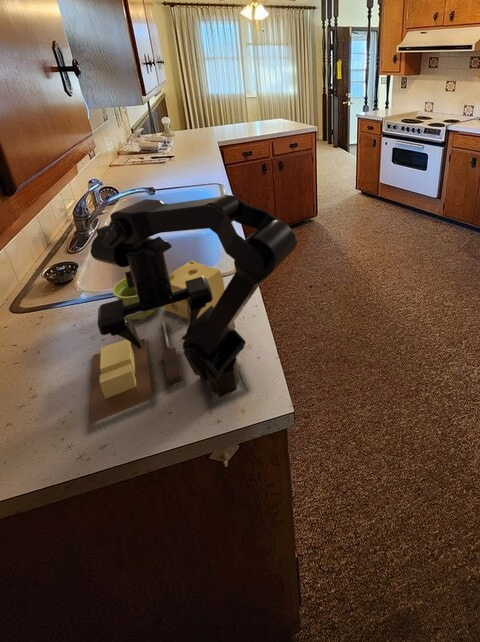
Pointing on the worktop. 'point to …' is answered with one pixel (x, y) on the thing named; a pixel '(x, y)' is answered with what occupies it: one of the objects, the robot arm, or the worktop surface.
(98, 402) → the board
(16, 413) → the worktop surface
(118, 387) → the butter slice
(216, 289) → the cheese
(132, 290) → the plant pot
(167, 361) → the knife
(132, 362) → the butter
